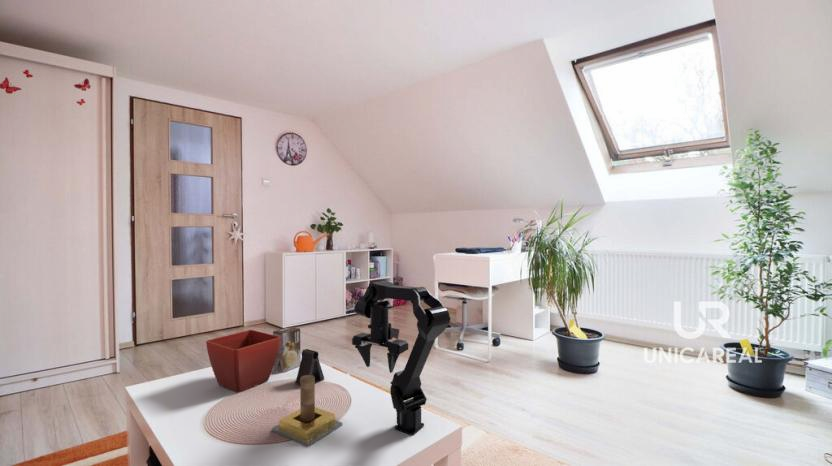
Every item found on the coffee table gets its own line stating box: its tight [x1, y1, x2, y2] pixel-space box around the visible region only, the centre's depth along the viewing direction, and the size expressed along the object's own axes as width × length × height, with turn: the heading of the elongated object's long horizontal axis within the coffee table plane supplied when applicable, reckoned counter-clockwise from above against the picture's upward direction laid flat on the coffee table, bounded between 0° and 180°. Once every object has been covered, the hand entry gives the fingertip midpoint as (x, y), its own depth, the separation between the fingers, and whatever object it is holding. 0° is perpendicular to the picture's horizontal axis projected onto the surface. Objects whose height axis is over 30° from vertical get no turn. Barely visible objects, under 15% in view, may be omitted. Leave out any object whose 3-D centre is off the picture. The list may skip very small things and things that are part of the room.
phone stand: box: [294, 348, 325, 386], centre depth 145 cm, size 9×6×12 cm, turn 147°
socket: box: [271, 406, 343, 447], centre depth 112 cm, size 15×13×3 cm
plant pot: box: [205, 329, 280, 393], centre depth 144 cm, size 19×19×17 cm
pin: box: [299, 375, 316, 424], centre depth 112 cm, size 4×4×14 cm
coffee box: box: [272, 326, 302, 373], centre depth 160 cm, size 9×6×16 cm
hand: (379, 369), depth 123 cm, fingers open, 9 cm apart
